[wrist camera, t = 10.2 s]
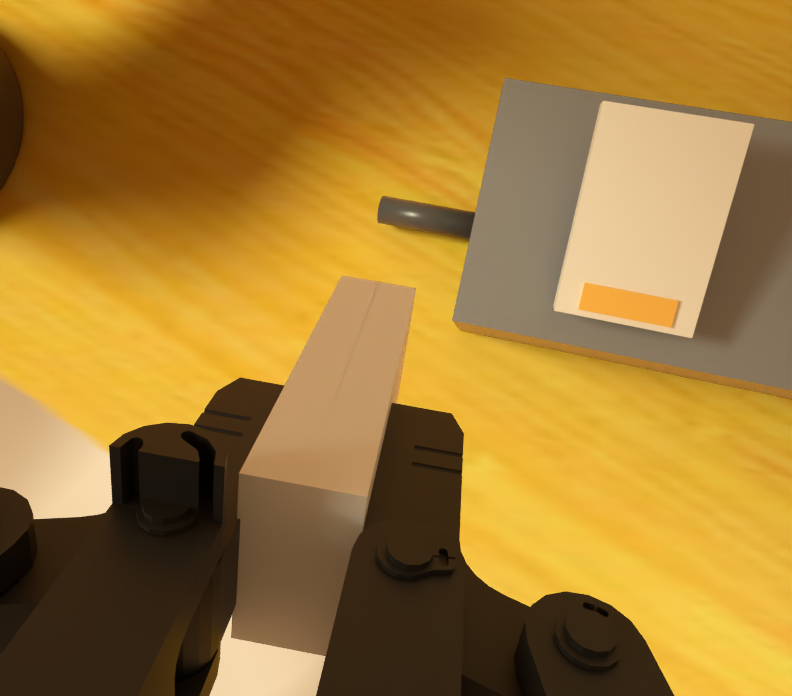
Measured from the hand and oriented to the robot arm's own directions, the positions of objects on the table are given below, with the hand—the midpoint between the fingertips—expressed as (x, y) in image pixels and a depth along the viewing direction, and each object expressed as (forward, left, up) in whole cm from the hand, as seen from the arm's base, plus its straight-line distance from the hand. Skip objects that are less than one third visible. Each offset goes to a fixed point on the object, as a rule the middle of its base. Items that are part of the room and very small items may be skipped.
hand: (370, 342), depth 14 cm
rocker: (+11, +2, -18) cm, 21 cm away
